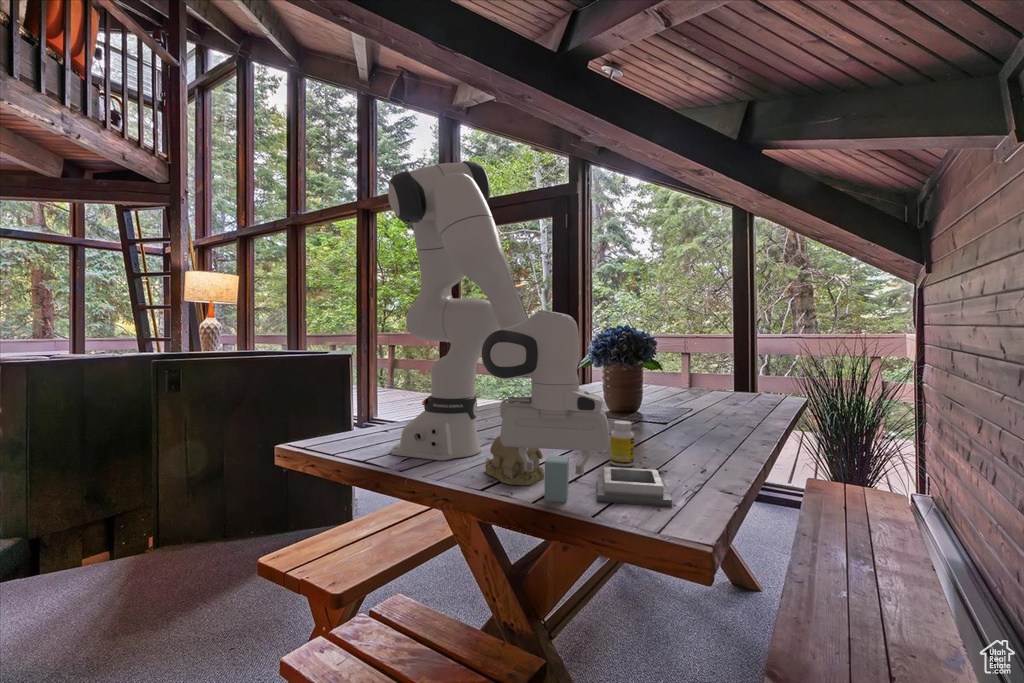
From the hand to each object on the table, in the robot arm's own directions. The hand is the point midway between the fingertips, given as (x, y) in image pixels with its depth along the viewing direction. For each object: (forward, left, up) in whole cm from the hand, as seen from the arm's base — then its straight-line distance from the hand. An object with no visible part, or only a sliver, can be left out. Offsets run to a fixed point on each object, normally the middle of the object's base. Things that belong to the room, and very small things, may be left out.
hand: (554, 472), depth 90 cm
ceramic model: (-10, +12, -5) cm, 16 cm away
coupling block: (+1, +1, -5) cm, 5 cm away
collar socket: (+15, +6, -5) cm, 16 cm away
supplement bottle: (+14, +26, -5) cm, 30 cm away
